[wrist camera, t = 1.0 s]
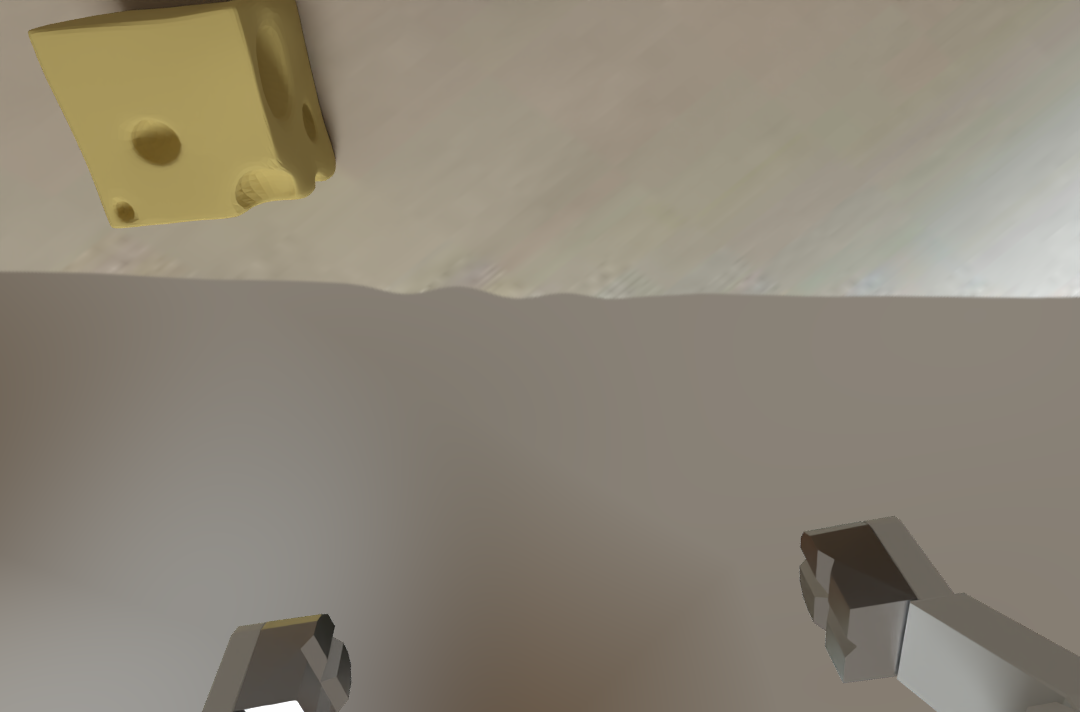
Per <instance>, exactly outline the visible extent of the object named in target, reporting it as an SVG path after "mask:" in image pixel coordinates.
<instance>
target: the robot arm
mask: <svg viewBox="0 0 1080 712" xmlns="http://www.w3.org/2000/svg"><path fill="white" fill-rule="evenodd" d="M800 548H801V550H802V552H803V554H804V556H805V558H806V560H805V561H804V562H803V563H802V564H801V565H800V585H801V589H802V595H803V598H804V601H805V604H806V606H807V609H808V612H809V613H810V616H811V618H812V620H813V622H814V623H815V624H816V625H818V626H819V627H821V628H822V629H824V630H825V631H826V638H825V647H826V649H827V651H828V654H829V656H830V658H831V660H832V662H833V664H834V666H835V668H836V670H837V672H838V674H839V676H840V678H841V680H842V682H843V683H849V682H857V681H864V680H872V679H879V678H887V677H894V676H897V679H898V680H899V681H900V682H901V683H903V684H904V685H905V686H906V687H907V688H909V689H910V690H911V691H912V692H914V693H915V694H916V695H917V696H919V697H920V698H921V699H922V700H924V701H925V702H926V703H927V704H928V705H930V706H931V707H932V708H933V709H935V710H936V711H937V712H1080V657H1079V656H1078V655H1076V654H1074V653H1072V652H1070V651H1068V650H1067V649H1065V648H1063V647H1061V646H1059V645H1057V644H1056V643H1054V642H1052V641H1050V640H1049V639H1047V638H1045V637H1043V636H1041V635H1039V634H1038V633H1036V632H1034V631H1032V630H1031V629H1029V628H1027V627H1025V626H1023V625H1021V624H1019V623H1018V622H1016V621H1014V620H1012V619H1011V618H1009V617H1007V616H1005V615H1003V614H1002V613H1000V612H998V611H996V610H994V609H992V608H991V607H989V606H987V605H985V604H984V603H982V602H980V601H978V600H976V599H974V598H973V597H971V596H969V595H967V594H965V593H958V594H954V593H953V591H952V590H951V588H950V587H949V586H948V584H947V583H946V582H945V580H944V579H943V577H942V576H941V575H940V573H939V572H938V571H937V569H936V568H935V567H934V565H933V564H932V562H931V561H930V560H929V558H928V557H927V556H926V554H925V553H924V551H923V550H922V549H921V547H920V546H919V545H918V544H917V542H916V540H915V539H914V538H913V536H912V535H911V534H910V532H909V531H908V529H907V528H906V527H905V525H904V524H903V523H902V521H901V520H900V519H898V518H897V517H895V516H891V517H885V518H879V519H873V520H867V521H863V522H861V521H859V522H854V523H848V524H842V525H837V526H832V527H826V528H821V529H815V530H810V531H804V532H803V534H802V536H801V545H800ZM334 629H335V625H334V623H333V622H332V620H331V618H330V616H329V615H328V614H319V615H312V616H305V617H298V618H291V619H284V620H277V621H270V622H264V623H258V624H252V625H245V626H239V627H238V628H237V629H236V630H235V631H234V633H233V634H232V635H231V637H230V640H229V643H228V645H227V648H226V650H225V653H224V656H223V658H222V661H221V664H220V666H219V669H218V671H217V674H216V677H215V679H214V682H213V685H212V687H211V690H210V692H209V695H208V698H207V700H206V703H205V705H204V708H203V711H202V712H339V710H340V709H341V708H342V707H343V705H344V704H345V703H346V702H347V700H348V699H349V694H350V688H351V662H350V658H349V654H348V651H347V649H346V647H345V645H344V643H343V642H341V641H340V640H338V639H336V638H334V637H333V633H334Z"/></svg>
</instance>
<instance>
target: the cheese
mask: <svg viewBox="0 0 1080 712" xmlns="http://www.w3.org/2000/svg"><path fill="white" fill-rule="evenodd" d="M28 34H29V38H30V40H31V43H32V45H33V48H34V50H35V53H36V56H37V58H38V61H39V63H40V65H41V68H42V70H43V72H44V74H45V77H46V79H47V81H48V83H49V85H50V87H51V89H52V91H53V93H54V95H55V98H56V100H57V102H58V104H59V106H60V108H61V110H62V112H63V114H64V116H65V118H66V120H67V122H68V124H69V126H70V128H71V131H72V133H73V135H74V137H75V139H76V141H77V143H78V146H79V148H80V150H81V152H82V154H83V157H84V159H85V161H86V164H87V166H88V168H89V171H90V173H91V176H92V178H93V181H94V184H95V186H96V189H97V192H98V194H99V197H100V200H101V203H102V205H103V208H104V211H105V213H106V216H107V218H108V221H109V223H110V225H111V227H112V228H128V227H138V226H147V225H156V224H169V223H178V222H187V221H197V220H210V219H223V218H231V217H236V216H239V215H241V214H243V213H245V212H246V211H248V210H249V209H251V208H252V207H254V206H256V205H258V204H262V203H265V202H270V201H277V200H294V199H301V198H305V197H307V196H308V195H310V194H311V193H312V192H313V190H314V189H315V181H326V180H327V179H329V178H330V177H331V176H333V174H334V172H335V167H336V162H335V156H334V152H333V149H332V145H331V142H330V139H329V136H328V133H327V130H326V127H325V124H324V121H323V117H322V114H321V110H320V106H319V102H318V97H317V93H316V89H315V84H314V80H313V76H312V72H311V67H310V63H309V59H308V54H307V50H306V46H305V42H304V37H303V32H302V28H301V23H300V18H299V14H298V10H297V6H296V2H295V0H232V1H228V2H218V3H208V4H198V5H188V6H179V7H169V8H158V9H144V10H129V11H122V12H116V13H109V14H103V15H96V16H91V17H85V18H80V19H75V20H70V21H65V22H60V23H54V24H50V25H46V26H42V27H38V28H35V29H32V30H29V31H28Z"/></svg>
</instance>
